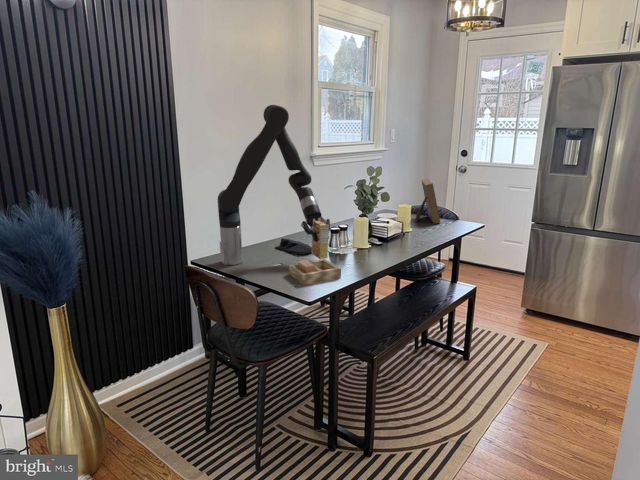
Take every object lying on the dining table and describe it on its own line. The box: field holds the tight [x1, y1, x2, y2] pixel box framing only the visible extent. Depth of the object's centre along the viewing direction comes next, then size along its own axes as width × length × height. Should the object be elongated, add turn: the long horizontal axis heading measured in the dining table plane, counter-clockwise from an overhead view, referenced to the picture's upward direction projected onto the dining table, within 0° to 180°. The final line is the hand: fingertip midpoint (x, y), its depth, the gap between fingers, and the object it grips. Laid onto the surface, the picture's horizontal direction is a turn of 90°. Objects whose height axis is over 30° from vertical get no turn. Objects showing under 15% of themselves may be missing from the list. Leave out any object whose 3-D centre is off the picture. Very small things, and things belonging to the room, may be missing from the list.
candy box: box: [311, 221, 330, 260], centre depth 197 cm, size 9×4×15 cm, turn 26°
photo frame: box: [414, 178, 441, 225], centre depth 282 cm, size 15×22×25 cm
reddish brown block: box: [297, 259, 315, 273], centre depth 179 cm, size 4×8×6 cm, turn 27°
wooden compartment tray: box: [288, 258, 342, 286], centre depth 181 cm, size 16×14×6 cm
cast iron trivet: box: [274, 237, 312, 256], centre depth 223 cm, size 15×22×5 cm
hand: (322, 240), depth 195 cm, fingers closed on candy box, 4 cm apart
